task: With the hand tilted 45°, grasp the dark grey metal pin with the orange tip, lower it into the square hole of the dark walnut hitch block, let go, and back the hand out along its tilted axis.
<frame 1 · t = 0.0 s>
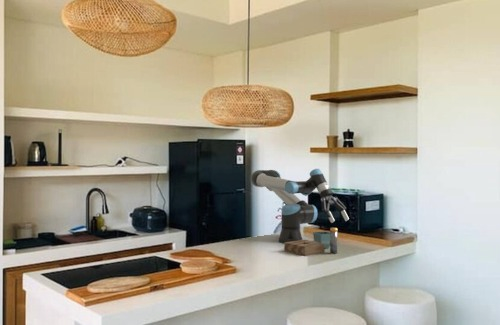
hand: (340, 221, 287), 15 cm above the worktop, tool tilted 35°, fingers open, 13 cm apart
metal pin: (333, 253, 267), on the worktop
hitch block: (304, 251, 269), on the worktop
flower pot: (322, 248, 282), on the worktop
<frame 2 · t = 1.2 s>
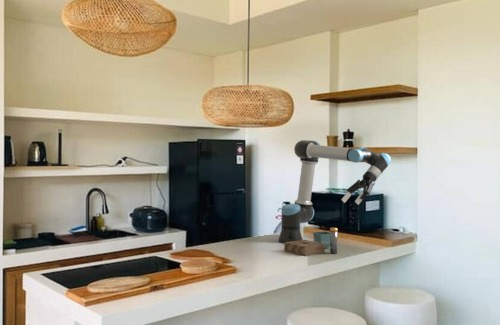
hand: (349, 202, 270), 28 cm above the worktop, tool tilted 45°, fingers open, 13 cm apart
nothing on the worktop moved.
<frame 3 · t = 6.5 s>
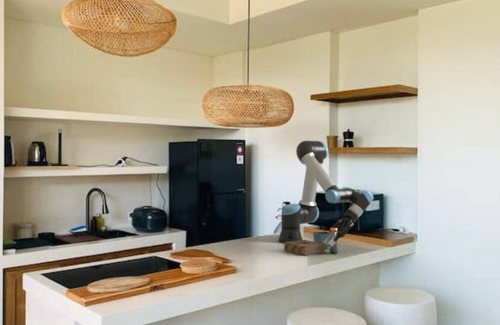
hand: (327, 244, 265), 5 cm above the worktop, tool tilted 45°, fingers closed on metal pin, 4 cm apart
metal pin: (333, 253, 267), on the worktop, touching gripper
everything else where it was.
when the fingers open (7 cm above the worktop, at t = 12.1 s): metal pin drops 1 cm, resting in hitch block.
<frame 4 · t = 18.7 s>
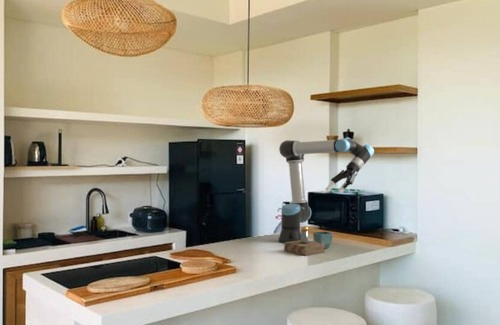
hand: (333, 191, 282), 34 cm above the worktop, tool tilted 45°, fingers open, 13 cm apart
metal pin: (304, 251, 269), resting in hitch block
everything else where it was.
at the end: metal pin 0.1 cm off-centre on the hitch block, point 0.0 cm above the hitch block's base; metal pin tilted 0°; the gripper is holding nothing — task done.
